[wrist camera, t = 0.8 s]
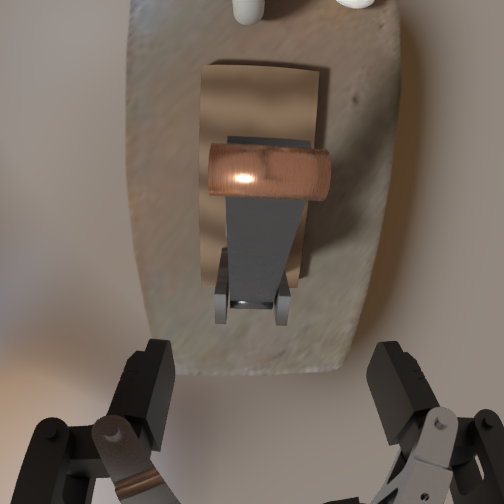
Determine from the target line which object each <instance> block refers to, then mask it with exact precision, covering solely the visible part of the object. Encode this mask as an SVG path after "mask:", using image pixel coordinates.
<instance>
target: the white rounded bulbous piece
mask: <svg viewBox="0 0 504 504" xmlns="http://www.w3.org/2000/svg"><path fill="white" fill-rule="evenodd" d="M336 1H337V2H339V3H340V4H342V5H343V6H346V7H350V8H356V9H360V8H365V7H368V6H370V5H371V4H372V3H373V2H374V1H375V0H336Z"/></svg>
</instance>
